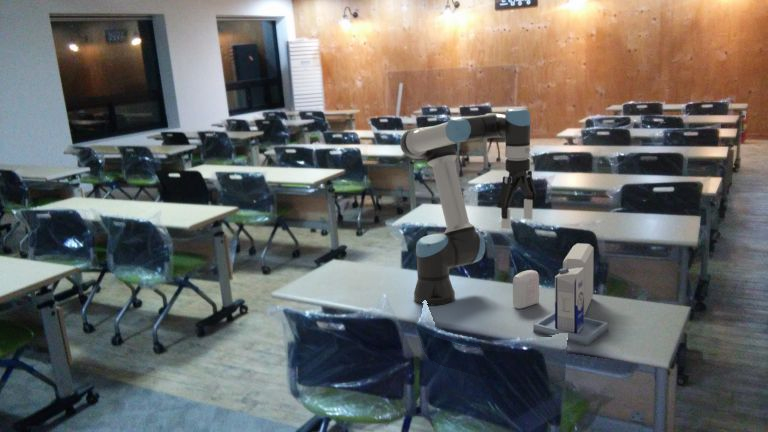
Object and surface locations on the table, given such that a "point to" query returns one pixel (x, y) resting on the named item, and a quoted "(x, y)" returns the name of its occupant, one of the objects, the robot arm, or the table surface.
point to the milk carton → (569, 300)
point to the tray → (585, 337)
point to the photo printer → (525, 289)
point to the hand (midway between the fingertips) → (517, 223)
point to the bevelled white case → (582, 259)
